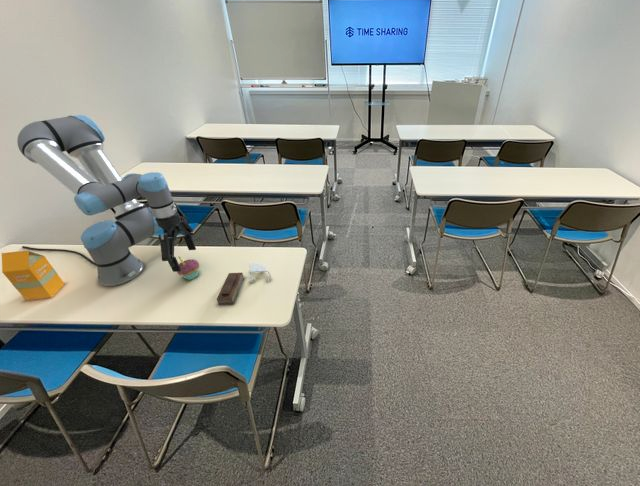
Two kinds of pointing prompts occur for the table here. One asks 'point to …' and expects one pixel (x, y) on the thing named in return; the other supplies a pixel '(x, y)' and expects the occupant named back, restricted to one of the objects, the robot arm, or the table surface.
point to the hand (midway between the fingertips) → (185, 259)
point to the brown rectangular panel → (230, 288)
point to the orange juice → (31, 274)
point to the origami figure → (257, 270)
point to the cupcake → (188, 268)
